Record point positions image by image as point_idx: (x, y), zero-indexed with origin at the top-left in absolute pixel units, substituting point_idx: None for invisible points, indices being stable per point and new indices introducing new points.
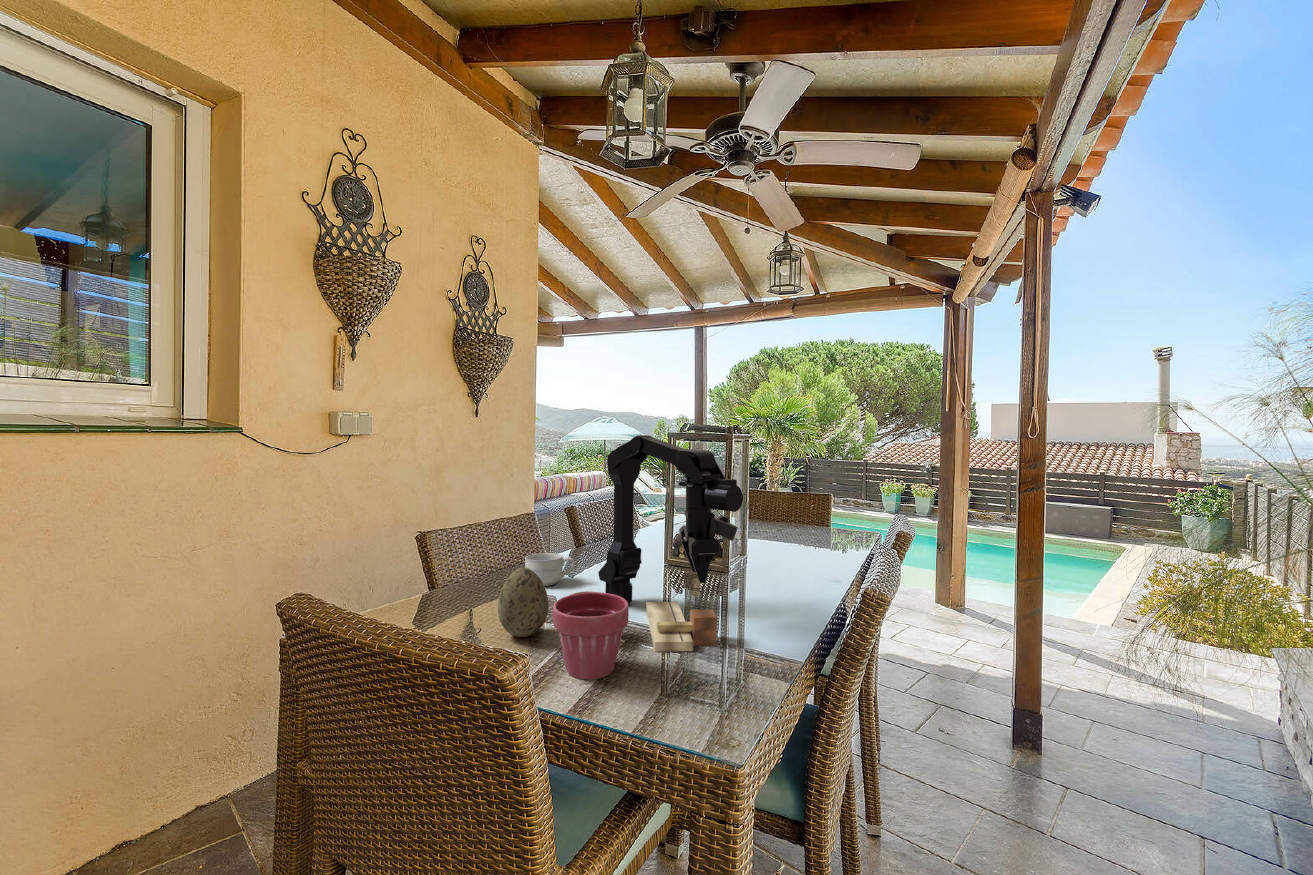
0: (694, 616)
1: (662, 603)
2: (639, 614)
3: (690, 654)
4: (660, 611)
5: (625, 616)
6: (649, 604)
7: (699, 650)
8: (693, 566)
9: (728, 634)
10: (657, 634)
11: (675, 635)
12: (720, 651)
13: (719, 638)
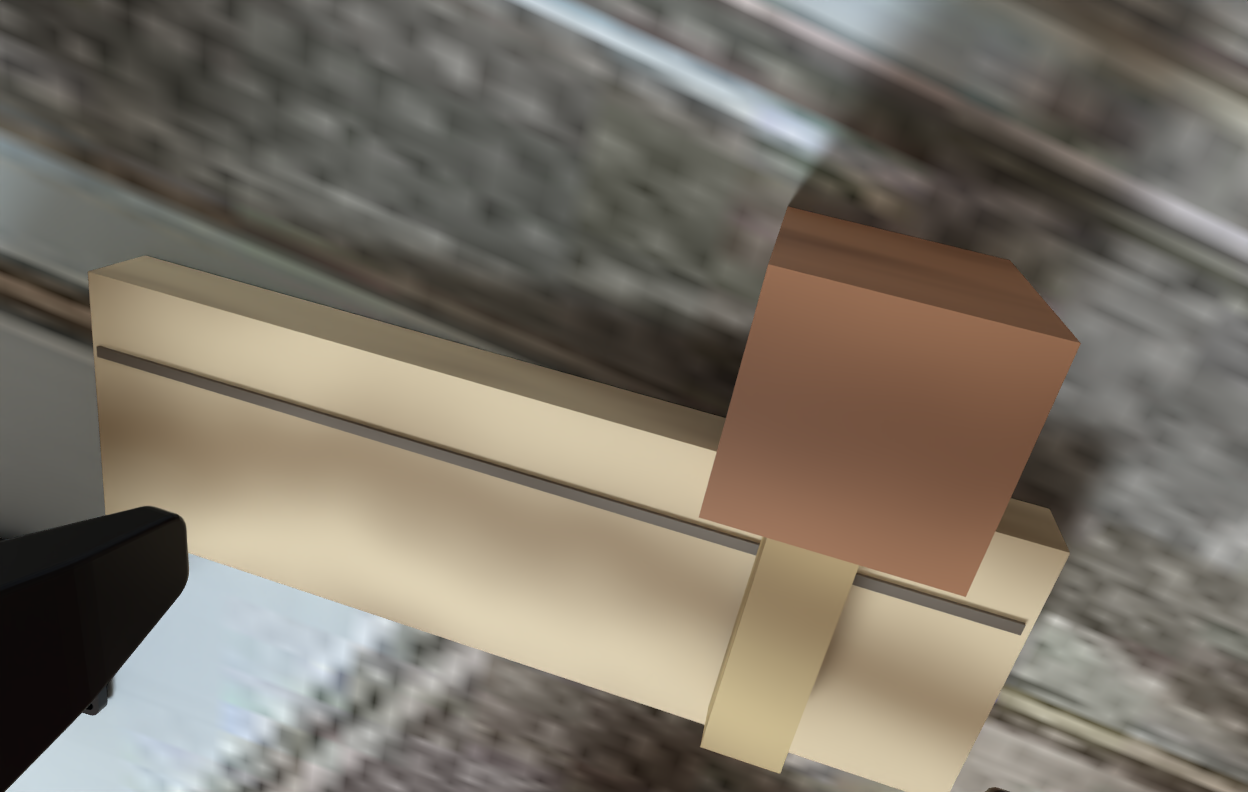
0: (930, 573)
1: (135, 419)
2: None
3: (1101, 551)
4: (316, 508)
5: None
6: None
7: (1058, 452)
8: (99, 648)
9: (806, 16)
10: (800, 726)
11: (869, 620)
12: (1171, 287)
13: (872, 159)
